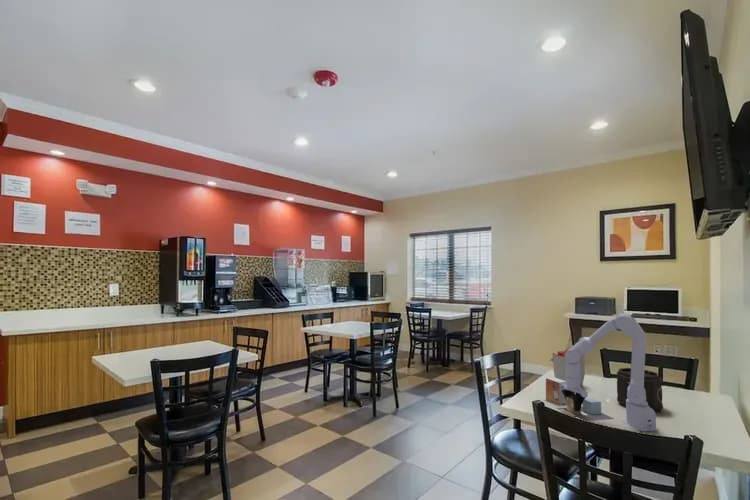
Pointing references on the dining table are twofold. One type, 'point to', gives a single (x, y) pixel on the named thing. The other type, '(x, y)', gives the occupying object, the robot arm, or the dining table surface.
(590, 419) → the letter mat
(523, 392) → the dining table surface
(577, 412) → the maple block
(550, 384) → the small box
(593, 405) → the blue cube
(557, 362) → the citrus juicer
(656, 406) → the wooden barrel
